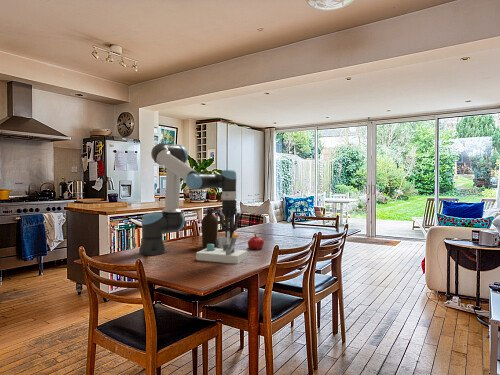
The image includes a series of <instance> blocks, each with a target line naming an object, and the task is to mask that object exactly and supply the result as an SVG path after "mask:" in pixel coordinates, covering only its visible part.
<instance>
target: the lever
mask: <svg viewBox="0 0 500 375" xmlns="http://www.w3.org/2000/svg"><path fill="white" fill-rule="evenodd" d="M237 238H239V233H237V232H233V234H232V240H231V243H230V246H229V249H231V252H232V251H233V248H234V249H235V244H236V241H237Z"/></svg>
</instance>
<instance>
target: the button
mask: <svg viewBox="0 0 500 375" xmlns="http://www.w3.org/2000/svg"><path fill="white" fill-rule="evenodd" d="M214 248H215V247H214V244H207V251H214Z"/></svg>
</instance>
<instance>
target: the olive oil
mask: <svg viewBox="0 0 500 375" xmlns="http://www.w3.org/2000/svg"><path fill="white" fill-rule="evenodd" d="M206 210H207V211H206V214H205V215H204V216H203V217H202V220H201V224H200V225H201V238H202V239H201V241H202V242H201V244H202V248H204V249H206V248H207V244H214V248H217V246H216V241H215V240H217V239H218V231H219V222H218V218H217V217H216V216H215V214H214V213H213V208H212V207H207V208H206Z"/></svg>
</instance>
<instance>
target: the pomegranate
mask: <svg viewBox="0 0 500 375" xmlns="http://www.w3.org/2000/svg"><path fill="white" fill-rule="evenodd" d="M247 247H248V248H249V249H250V250H261V249H262V248H263V247H264V239H263V238H261V236H257V234H256V233H254V235H251V237H250V239H248V241H247Z"/></svg>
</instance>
